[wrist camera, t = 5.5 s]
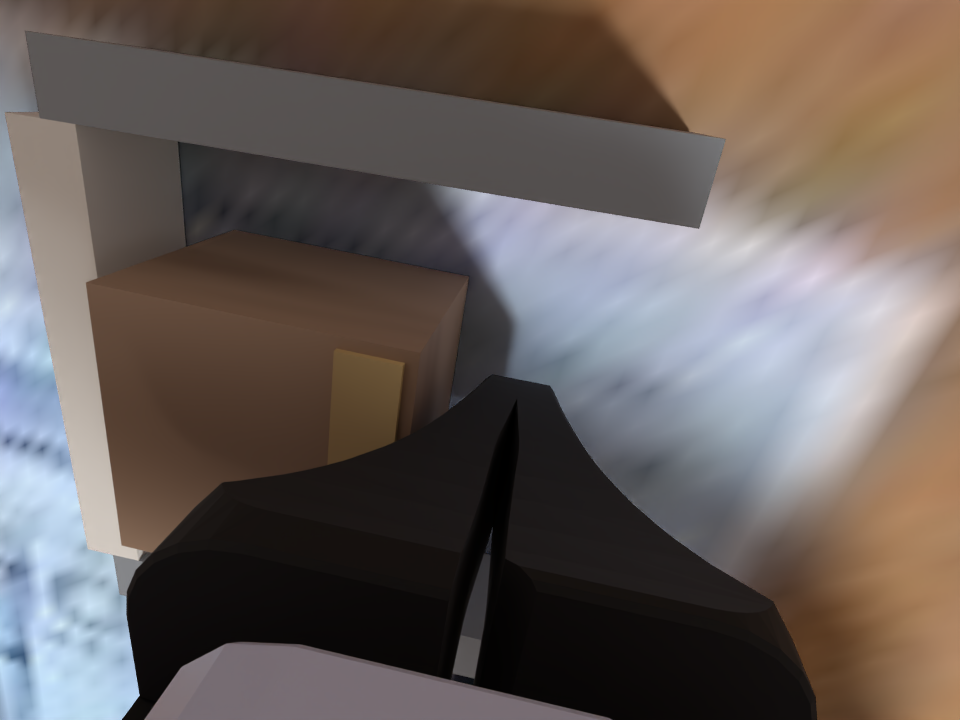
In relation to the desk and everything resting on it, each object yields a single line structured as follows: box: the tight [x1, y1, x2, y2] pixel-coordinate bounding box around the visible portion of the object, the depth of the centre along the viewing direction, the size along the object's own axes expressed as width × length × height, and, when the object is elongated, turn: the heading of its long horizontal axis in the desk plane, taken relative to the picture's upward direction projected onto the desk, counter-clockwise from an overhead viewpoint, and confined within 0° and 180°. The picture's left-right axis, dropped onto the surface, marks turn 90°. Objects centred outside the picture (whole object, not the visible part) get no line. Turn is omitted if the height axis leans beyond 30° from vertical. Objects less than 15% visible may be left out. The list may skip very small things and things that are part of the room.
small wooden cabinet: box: [86, 230, 469, 553], centre depth 11 cm, size 5×5×4 cm
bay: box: [5, 31, 726, 678], centre depth 12 cm, size 11×11×2 cm
